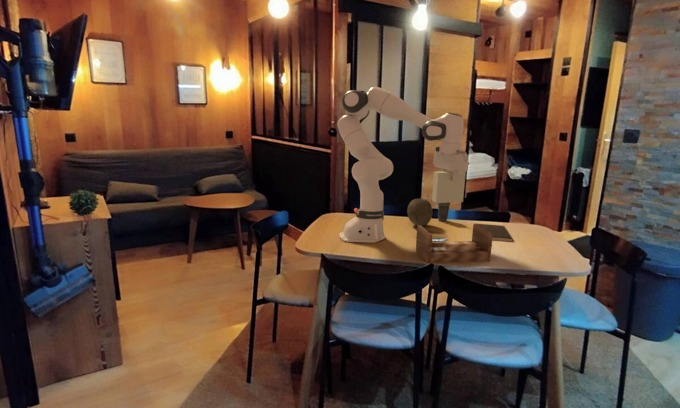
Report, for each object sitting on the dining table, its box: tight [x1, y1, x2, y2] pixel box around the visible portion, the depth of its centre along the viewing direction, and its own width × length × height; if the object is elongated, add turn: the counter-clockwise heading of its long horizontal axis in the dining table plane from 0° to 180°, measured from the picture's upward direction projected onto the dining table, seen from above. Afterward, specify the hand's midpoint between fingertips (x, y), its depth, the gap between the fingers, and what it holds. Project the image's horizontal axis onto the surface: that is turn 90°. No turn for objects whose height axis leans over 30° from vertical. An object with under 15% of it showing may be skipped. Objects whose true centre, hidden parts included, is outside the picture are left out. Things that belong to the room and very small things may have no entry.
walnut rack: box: [415, 223, 493, 264], centre depth 174 cm, size 28×15×12 cm, turn 97°
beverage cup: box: [437, 202, 451, 223], centre depth 231 cm, size 7×7×20 cm
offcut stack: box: [432, 240, 476, 252], centre depth 171 cm, size 20×4×8 cm, turn 97°
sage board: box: [431, 170, 466, 204], centre depth 189 cm, size 14×4×14 cm, turn 105°
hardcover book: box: [473, 223, 514, 243], centre depth 210 cm, size 16×23×2 cm
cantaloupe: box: [407, 198, 434, 227], centre depth 221 cm, size 14×14×15 cm
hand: (449, 179), depth 188 cm, fingers closed on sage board, 4 cm apart
